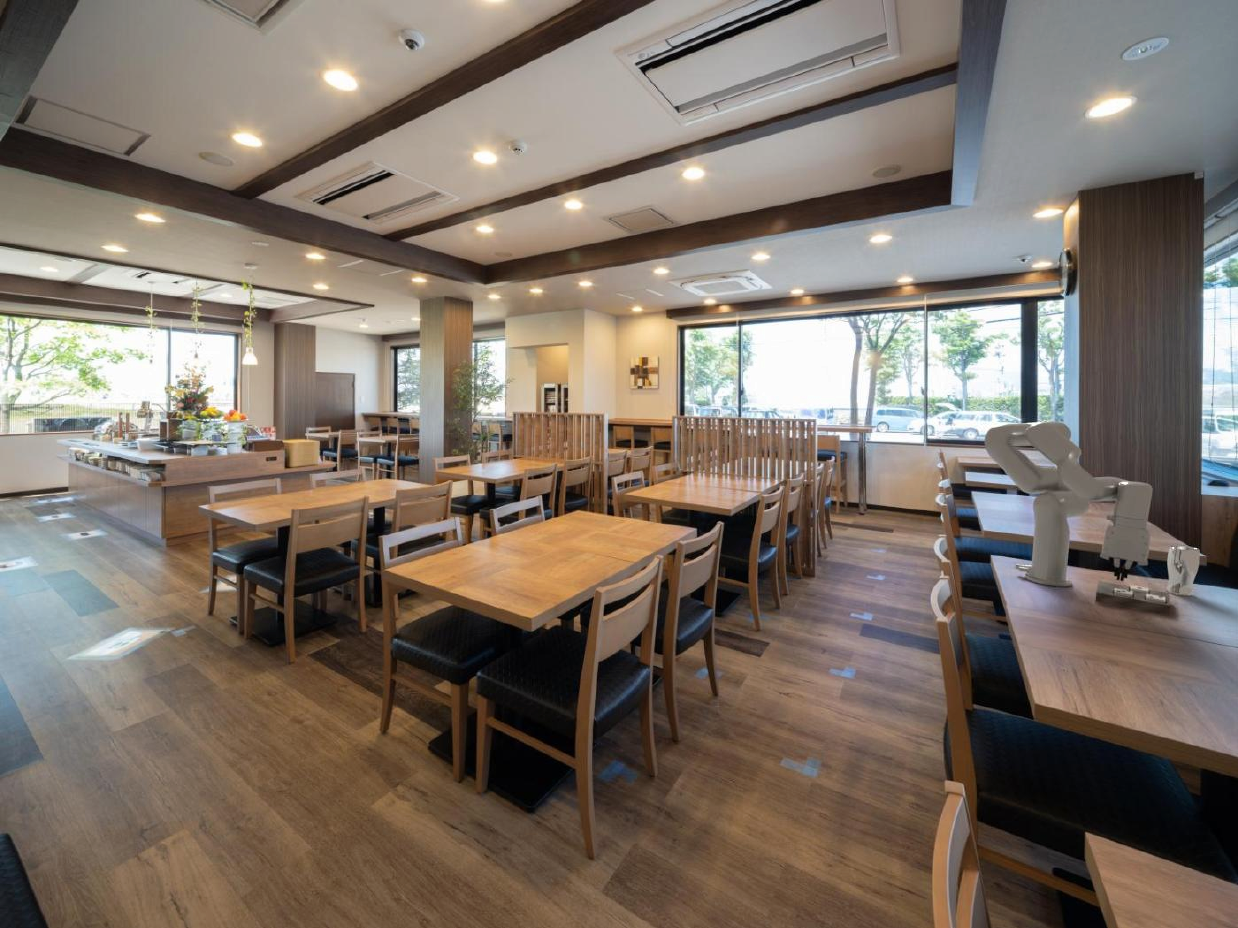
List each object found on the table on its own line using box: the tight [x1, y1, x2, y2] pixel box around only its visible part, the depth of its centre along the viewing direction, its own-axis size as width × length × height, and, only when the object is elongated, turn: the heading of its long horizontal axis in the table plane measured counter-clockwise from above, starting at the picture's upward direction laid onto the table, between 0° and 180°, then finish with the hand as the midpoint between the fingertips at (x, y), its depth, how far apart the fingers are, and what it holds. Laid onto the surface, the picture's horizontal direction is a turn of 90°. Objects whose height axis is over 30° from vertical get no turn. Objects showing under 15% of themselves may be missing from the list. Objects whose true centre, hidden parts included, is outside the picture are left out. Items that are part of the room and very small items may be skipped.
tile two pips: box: [1146, 594, 1166, 603], centre depth 157 cm, size 4×4×3 cm
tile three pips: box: [1114, 588, 1133, 597], centre depth 162 cm, size 4×4×3 cm
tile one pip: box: [1130, 585, 1149, 594], centre depth 165 cm, size 4×4×3 cm
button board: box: [1095, 581, 1171, 616], centre depth 163 cm, size 16×14×3 cm
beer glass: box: [1165, 544, 1201, 597], centre depth 169 cm, size 7×7×15 cm
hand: (1120, 579), depth 163 cm, fingers closed
